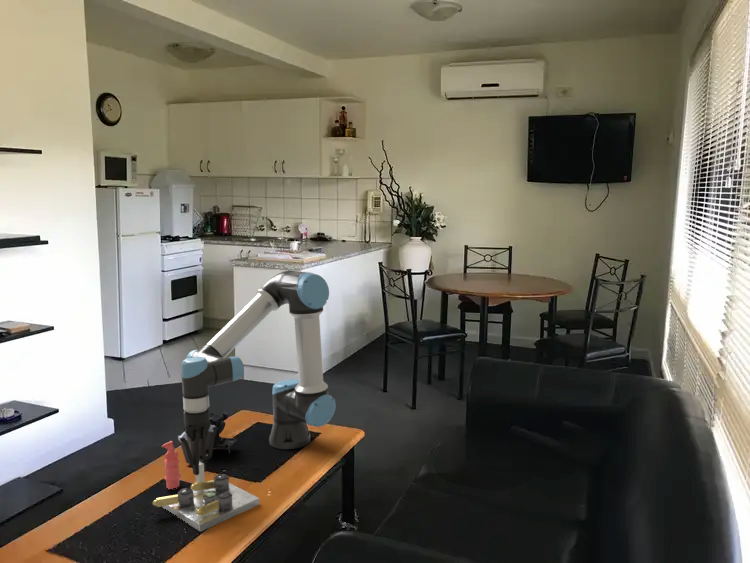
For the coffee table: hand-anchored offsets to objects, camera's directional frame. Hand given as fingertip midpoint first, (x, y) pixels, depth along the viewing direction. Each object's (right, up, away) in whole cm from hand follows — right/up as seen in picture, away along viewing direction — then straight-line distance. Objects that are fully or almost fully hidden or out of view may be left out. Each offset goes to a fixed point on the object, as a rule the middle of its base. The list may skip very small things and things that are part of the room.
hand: (200, 483), depth 190 cm
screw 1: (-5, -3, -10) cm, 12 cm away
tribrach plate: (+5, -5, -7) cm, 10 cm away
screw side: (+8, -3, -14) cm, 16 cm away
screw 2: (+3, -2, -1) cm, 4 cm away
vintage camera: (-5, 0, +33) cm, 33 cm away
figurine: (-10, -3, +6) cm, 13 cm away
